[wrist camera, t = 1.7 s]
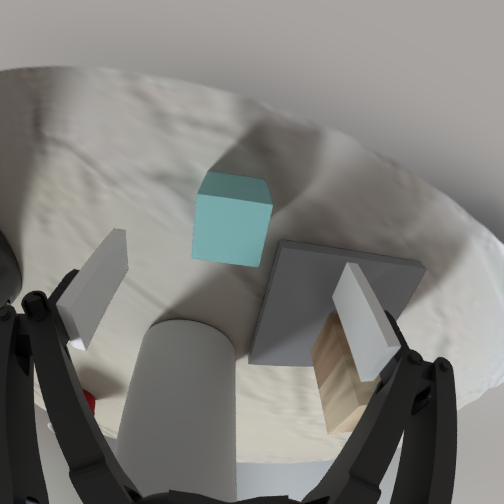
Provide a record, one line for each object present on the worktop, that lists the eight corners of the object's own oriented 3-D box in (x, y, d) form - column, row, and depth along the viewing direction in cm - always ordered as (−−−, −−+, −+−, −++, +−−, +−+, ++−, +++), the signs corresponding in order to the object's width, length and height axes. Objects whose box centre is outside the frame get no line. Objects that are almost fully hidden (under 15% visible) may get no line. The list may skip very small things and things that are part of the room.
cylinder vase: (217, 380, 38) (214, 534, 17) (139, 358, 35) (107, 515, 14) (250, 333, 33) (261, 541, 11) (152, 303, 30) (100, 522, 8)
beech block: (318, 389, 28) (327, 434, 23) (343, 354, 24) (359, 405, 19) (368, 386, 29) (380, 425, 23) (396, 352, 25) (415, 395, 20)
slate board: (247, 355, 35) (248, 364, 34) (279, 239, 26) (282, 247, 25) (362, 357, 37) (365, 365, 36) (420, 261, 28) (426, 269, 27)
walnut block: (310, 351, 33) (318, 389, 28) (329, 313, 29) (343, 354, 24) (356, 351, 34) (368, 386, 29) (379, 315, 30) (396, 352, 25)
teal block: (201, 223, 25) (191, 258, 20) (207, 171, 22) (197, 193, 17) (254, 230, 25) (258, 267, 20) (265, 179, 23) (273, 205, 18)
